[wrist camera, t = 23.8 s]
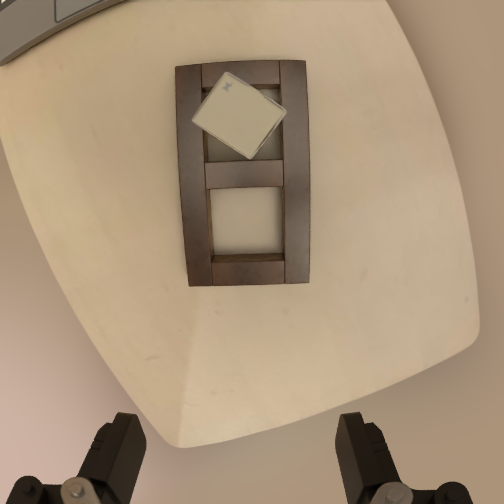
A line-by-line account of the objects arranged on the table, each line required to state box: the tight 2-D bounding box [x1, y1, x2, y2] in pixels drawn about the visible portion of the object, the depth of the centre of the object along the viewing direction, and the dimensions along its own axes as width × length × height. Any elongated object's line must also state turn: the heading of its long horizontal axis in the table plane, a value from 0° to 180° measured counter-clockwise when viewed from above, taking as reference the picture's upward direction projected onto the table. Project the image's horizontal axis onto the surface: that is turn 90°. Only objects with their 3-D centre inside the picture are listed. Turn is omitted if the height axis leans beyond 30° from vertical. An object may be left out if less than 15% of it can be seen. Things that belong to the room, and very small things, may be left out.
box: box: [192, 72, 286, 159], centre depth 25 cm, size 5×4×11 cm
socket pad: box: [175, 60, 310, 286], centre depth 31 cm, size 12×22×2 cm, turn 2°
